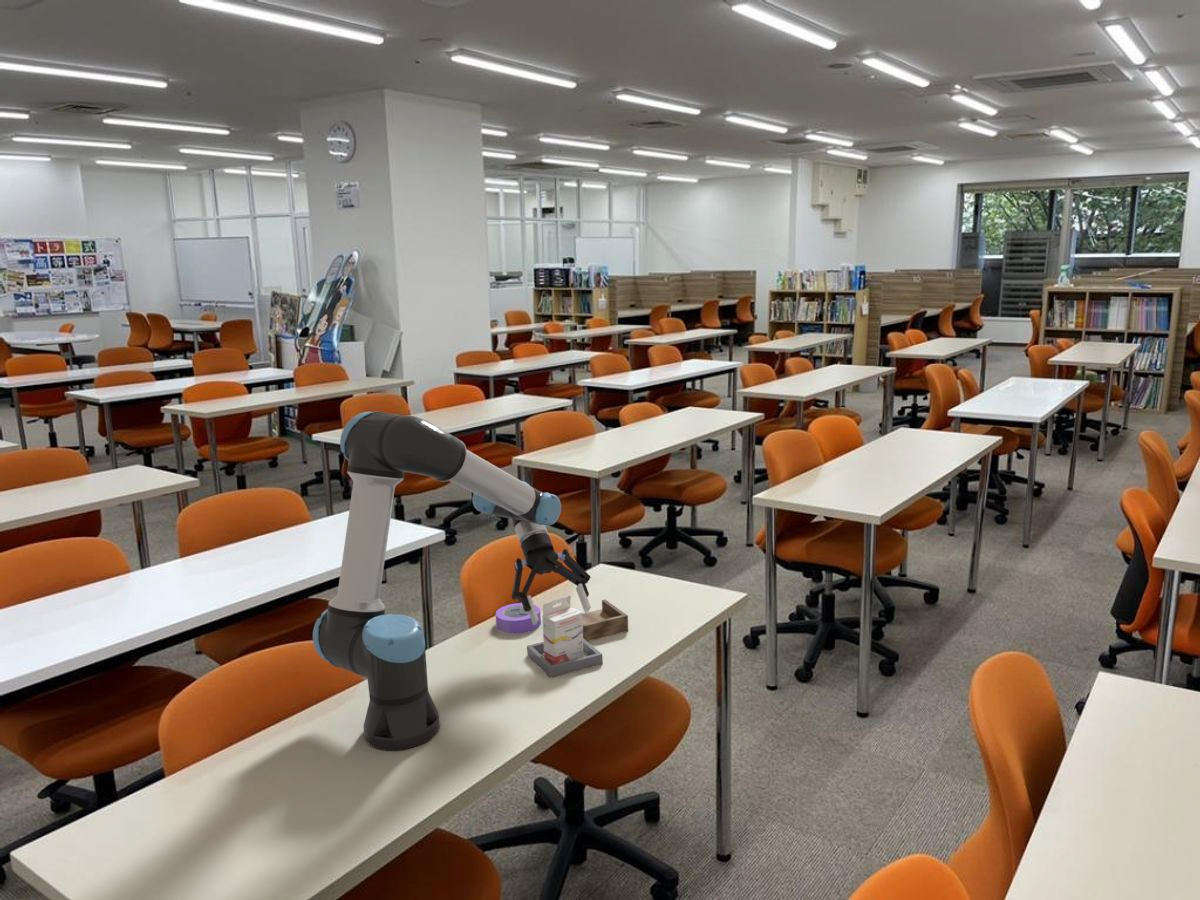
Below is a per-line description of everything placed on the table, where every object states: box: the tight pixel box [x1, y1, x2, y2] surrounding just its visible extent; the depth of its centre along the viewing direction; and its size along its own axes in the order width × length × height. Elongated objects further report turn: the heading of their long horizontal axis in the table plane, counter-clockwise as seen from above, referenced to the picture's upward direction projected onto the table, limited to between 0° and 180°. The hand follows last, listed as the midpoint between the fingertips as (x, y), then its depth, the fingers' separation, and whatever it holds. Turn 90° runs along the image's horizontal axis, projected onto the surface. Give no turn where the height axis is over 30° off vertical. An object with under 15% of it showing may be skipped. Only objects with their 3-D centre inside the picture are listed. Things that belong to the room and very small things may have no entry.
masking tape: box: [495, 602, 542, 635], centre depth 226 cm, size 12×12×4 cm
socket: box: [526, 638, 604, 679], centre depth 205 cm, size 14×14×2 cm
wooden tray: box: [582, 599, 629, 642], centre depth 223 cm, size 14×14×4 cm
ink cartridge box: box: [542, 595, 585, 665], centre depth 204 cm, size 9×5×15 cm, turn 130°
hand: (562, 616), depth 206 cm, fingers open, 13 cm apart
